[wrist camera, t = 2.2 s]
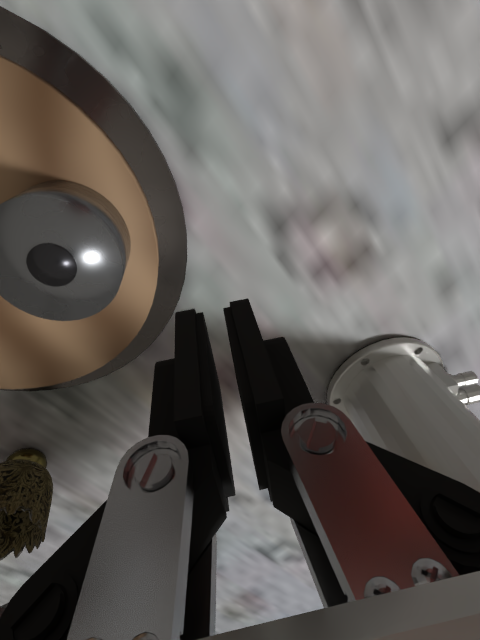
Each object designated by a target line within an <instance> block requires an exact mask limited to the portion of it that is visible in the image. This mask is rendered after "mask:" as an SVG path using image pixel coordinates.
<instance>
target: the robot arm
mask: <svg viewBox="0 0 480 640" xmlns="http://www.w3.org/2000/svg"><path fill="white" fill-rule="evenodd" d="M223 309H224V315H225V320H226V326H227V331H228V336H229V342H230V347H231V352H232V358H233V363H234V368H235V373H236V379H237V384H238V389H239V394H240V398H241V403H242V408H243V413H244V418H245V422H246V427H247V432H248V437H249V442H250V446H251V451H252V456H253V461H254V466H255V470H256V475H257V480H258V485H259V489H260V490H261V489H266V488H268V491H269V495H270V500H271V502H272V501H273V506H274V507H275V508H276V509H278V510H279V511H281V512H283V513H284V514H286V515H287V516H289V517H290V519H291V523H292V526H293V529H294V531H295V534H296V536H297V539H298V542H299V544H300V547H301V549H302V552H303V555H304V557H305V560H306V562H307V565H308V568H309V570H310V573H311V575H312V578H313V581H314V583H315V586H316V588H317V591H318V594H319V596H320V599H321V601H322V604H323V607H324V608H323V609H319V610H315V611H311V612H307V613H303V614H299V615H295V616H291V617H287V618H282V619H278V620H274V621H270V622H266V623H262V624H258V625H254V626H250V627H246V628H242V629H238V630H233V631H229V632H225V633H221V634H217V635H215V621H216V563H217V537H216V532H217V531H218V529H219V528H220V526H221V525H222V524H223V522H224V521H225V519H226V518H227V516H226V512H227V511H229V505H228V497H230V496H235V487H234V480H233V474H232V467H231V460H230V453H229V446H228V439H227V432H226V425H225V418H224V411H223V404H222V397H221V391H220V385H219V380H218V376H217V371H216V367H215V363H214V358H213V354H212V349H211V345H210V341H209V336H208V332H207V327H206V323H205V319H204V315H203V312H202V313H197V314H196V311H195V309H191V310H186V311H181V312H176V314H175V358H174V359H169V360H164V361H159V362H156V364H155V370H154V381H153V392H152V403H151V414H150V424H149V435H148V438H146V439H144V440H142V441H140V442H138V443H136V444H135V445H134V446H133V447H131V448H130V449H129V450H128V451H127V452H126V454H125V455H124V456H123V457H122V459H121V460H120V462H119V465H118V467H117V469H116V472H115V475H114V479H113V482H112V486H111V489H110V493H109V496H108V499H107V500H106V501H105V502H104V503H103V504H102V505H101V507H100V508H99V509H98V510H97V511H96V512H95V513H94V514H93V515H92V516H91V517H90V518H89V519H88V520H87V521H86V522H85V523H84V524H83V525H82V526H81V527H80V528H79V529H78V530H77V531H76V532H75V533H74V534H73V535H72V536H71V537H70V538H69V539H68V540H67V541H66V542H65V543H64V544H63V545H62V546H61V547H60V548H59V549H58V550H57V551H56V552H55V553H54V554H53V555H52V556H51V557H50V558H49V559H48V560H47V561H46V562H45V563H44V564H43V565H42V566H41V567H40V568H39V569H38V570H37V571H36V572H35V573H34V574H33V575H32V576H31V577H30V578H29V579H28V580H27V581H26V582H25V583H24V584H23V585H22V587H21V588H20V589H19V590H18V591H17V593H16V594H15V595H14V596H13V597H12V599H11V600H10V602H9V603H7V604H5V605H3V606H0V640H480V420H479V419H478V418H477V417H476V416H475V415H474V414H473V413H472V412H471V411H470V410H469V409H468V408H467V407H466V406H465V405H469V404H473V403H478V402H480V386H479V385H477V382H478V378H477V376H476V374H475V373H474V372H472V371H468V372H464V373H459V374H457V375H453V376H452V375H451V374H448V373H447V372H446V371H445V370H444V367H443V362H442V359H441V358H440V356H439V354H438V353H437V352H436V351H435V350H434V349H433V348H432V347H431V346H430V345H428V344H427V343H425V342H423V341H421V340H418V339H414V338H407V337H401V338H391V339H386V340H382V341H379V342H377V343H374V344H371V345H369V346H367V347H365V348H363V349H361V350H360V351H358V352H357V353H355V354H354V355H352V356H351V357H350V358H349V359H348V360H347V361H345V362H344V363H343V364H342V365H341V367H340V368H339V369H338V370H337V372H336V373H335V374H334V376H333V378H332V380H331V381H330V384H329V387H328V390H327V402H328V405H327V404H324V403H314V402H313V399H312V397H311V395H310V393H309V390H308V388H307V386H306V384H305V382H304V379H303V377H302V375H301V373H300V371H299V368H298V366H297V364H296V362H295V359H294V357H293V355H292V353H291V351H290V348H289V346H288V344H287V342H286V340H285V338H284V337H279V338H274V339H269V340H264V341H263V339H262V336H261V333H260V330H259V328H258V325H257V322H256V319H255V316H254V313H253V311H252V308H251V305H250V302H249V300H248V299H243V300H238V301H233V302H230V307H228V308H223Z"/></svg>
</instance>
